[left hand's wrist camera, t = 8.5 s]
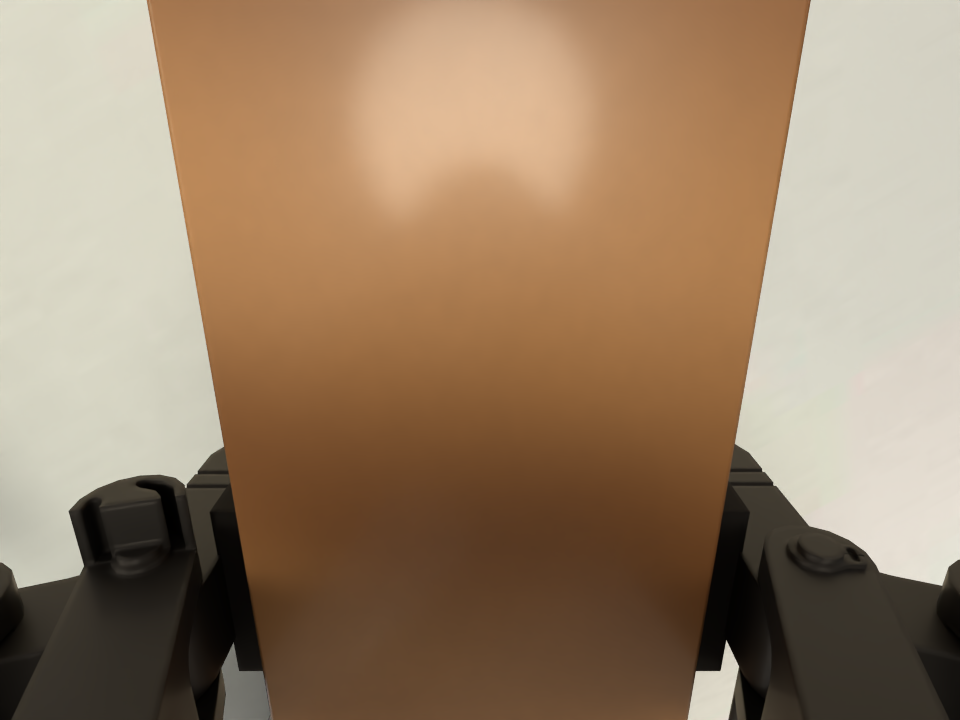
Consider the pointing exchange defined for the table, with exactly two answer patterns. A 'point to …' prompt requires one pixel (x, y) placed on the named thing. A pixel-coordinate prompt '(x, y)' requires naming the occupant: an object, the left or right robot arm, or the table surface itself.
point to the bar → (479, 332)
